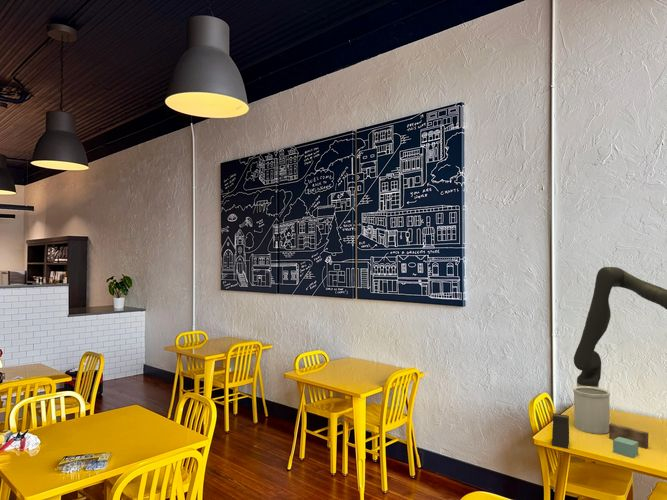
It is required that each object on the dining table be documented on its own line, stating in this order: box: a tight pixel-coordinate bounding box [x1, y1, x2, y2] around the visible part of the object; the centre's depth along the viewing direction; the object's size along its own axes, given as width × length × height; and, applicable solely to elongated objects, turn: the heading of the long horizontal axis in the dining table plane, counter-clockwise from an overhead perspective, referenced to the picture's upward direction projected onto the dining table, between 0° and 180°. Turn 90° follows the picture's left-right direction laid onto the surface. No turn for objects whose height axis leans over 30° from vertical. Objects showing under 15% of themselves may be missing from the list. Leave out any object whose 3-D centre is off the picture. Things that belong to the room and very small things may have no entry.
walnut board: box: [608, 423, 649, 450], centre depth 199 cm, size 14×2×6 cm, turn 39°
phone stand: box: [551, 412, 570, 449], centre depth 197 cm, size 9×6×12 cm, turn 150°
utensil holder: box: [572, 386, 611, 435], centre depth 216 cm, size 15×15×18 cm
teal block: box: [612, 437, 639, 459], centre depth 188 cm, size 7×6×5 cm
